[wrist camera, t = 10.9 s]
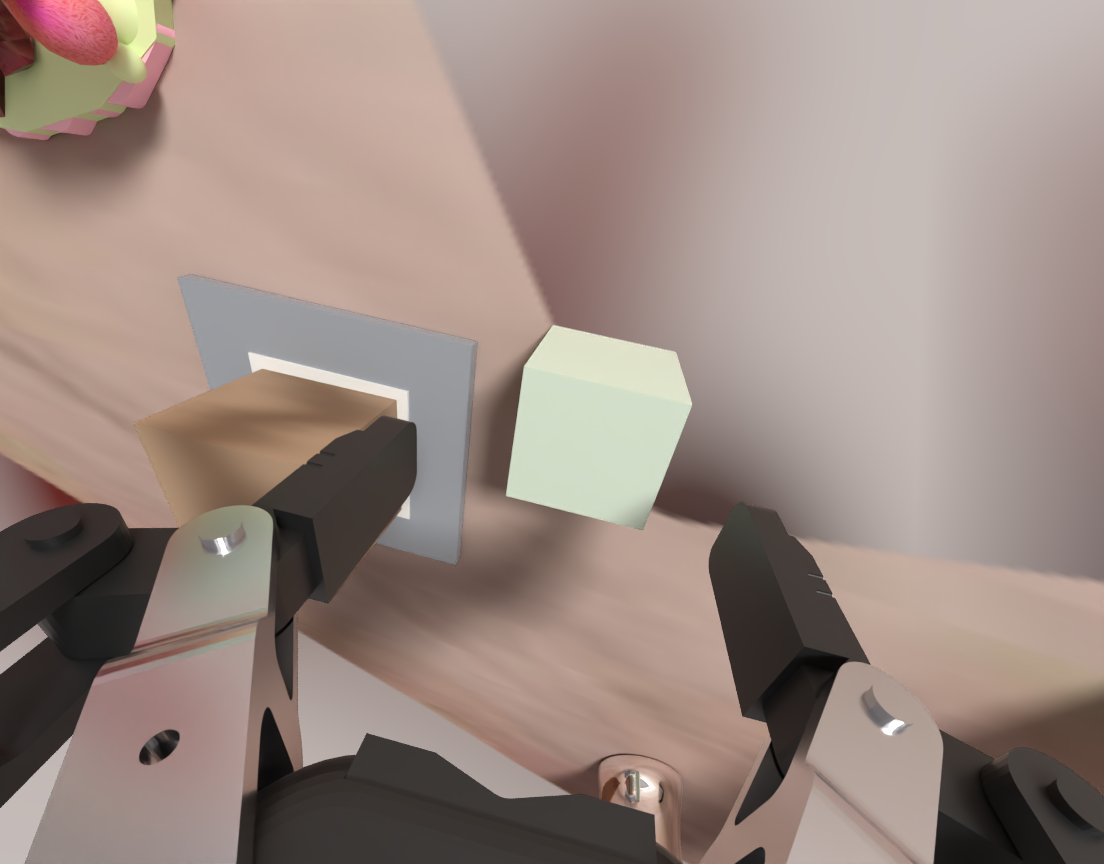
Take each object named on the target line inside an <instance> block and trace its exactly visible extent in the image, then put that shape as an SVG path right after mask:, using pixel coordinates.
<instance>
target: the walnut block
mask: <svg viewBox="0 0 1104 864" xmlns="http://www.w3.org/2000/svg"><path fill="white" fill-rule="evenodd" d="M384 415H385V416H389V417H393V418H397V400H394V399H390V398H386V397H382V396H377V395H373V394H369V393H365V392H360V391H356V390H352V389H347V388H343V387H339V386H335V385H330V384H326V383H322V382H317V381H313V380H309V379H305V378H300V377H296V376H292V375H287V374H283V373H279V372H275V371H270V370H266V369H260V370H258V371H255V372H253V373H251V374H248V375H246V376H244V377H241V378H239V379H237V380H234V381H232V382H229V383H227V384H225V385H222V386H220V387H218V388H215V389H213V390H211V391H208V392H206V393H204V394H201V395H199V396H196V397H194V398H192V399H189V400H187V401H185V402H182V403H180V404H178V405H175V406H173V407H170V408H168V409H166V410H163V411H161V412H159V413H156V414H154V415H152V416H149V417H147V418H144V419H142V420H140V421H137V422H135V423H133V425H134V427H135V429H136V432H137V434H138V436H139V438H140V441H141V443H142V445H143V447H144V450H145V452H146V454H147V456H148V459H149V461H150V463H151V466H152V468H153V470H154V472H155V475H156V477H157V479H158V481H159V484H160V486H161V488H162V491H163V493H164V495H165V497H166V500H167V502H168V504H169V506H170V509H171V511H172V513H173V516H174V518H175V520H176V522H177V525H178V527H179V528H180V527H181V526H182V525H184V524H185V523H186V522H188V521H190V520H191V519H193V518H195V517H197V516H199V515H201V514H203V513H206V512H209V511H211V510H215V509H218V508H223V507H227V506H236V505H247V506H251V505H253V504H254V503H255V502H256V501H258V500H259V499H260V498H261V497H263V496H264V495H265V494H266V493H268V492H269V491H270V490H271V489H273V488H274V487H275V486H276V485H278V484H279V483H280V482H281V481H283V480H284V479H285V478H286V477H288V476H289V475H290V474H292V473H293V472H294V471H295V470H297V469H298V468H299V467H300V466H302V465H303V464H305V465H306V463H307V461H308V460H309V459H310V458H312V457H313V456H314V455H315V454H317V453H318V454H319V453H320V450H322V449H323V448H324V447H325V446H327V445H328V444H329V443H330V442H332V441H333V440H334V439H336V438H338V437H340V436H343V435H345V434H348V433H350V432H352V431H355V430H361V431H364V430H365V429H366V428H368V427H369V426H370V425H371V424H372V423H373V422H375V421H376V420H377V419H378V418H379V417H381V416H384ZM401 510H402V508H401V507H400V509H399V510H398V511H397V513H396V514H395V515H394V517H393V518H392V519H391V521H390V522H389V523H388V525H387V526H386V527H385V529H384V530H383V531H382V533H381V534H380V535H379V537H378V538H377V539H376V541H375V542H374V543H373V545H372V546H371V547H370V549H369V550H368V551H367V553H368V552H369V551H370V550H371V548H372V547H373V546H374V544H375V543H376V542H377V541H378V539H379V538H380V537H381V535H382V534H383V533H384V532H385V530H386V529H387V528H388V526H389V525H390V524H391V523H392V521H393V520H394V519H395V517H396V516H397V515H398V514H399V512H400V511H401ZM367 553H366V554H365V555H364V557H365V556H366V555H367ZM364 557H363V558H362V559H361V561H362V560H363V559H364ZM361 561H360V562H361ZM360 562H359V563H358V565H359V564H360ZM358 565H357V566H358ZM357 566H356V567H355V569H356V568H357ZM355 569H354V570H355ZM354 570H353V571H354ZM353 571H352V573H353ZM352 573H351V574H352ZM351 574H350V575H351ZM350 575H349V577H350ZM349 577H348V578H349ZM348 578H347V579H348ZM347 579H346V580H347ZM345 582H346V581H345ZM345 582H344V583H345ZM344 583H343V584H344ZM342 586H343V585H342ZM342 586H341V587H342ZM341 587H340V588H341ZM338 591H339V590H338ZM338 591H337V592H338ZM335 595H336V594H335Z"/></svg>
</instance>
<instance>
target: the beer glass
mask: <svg viewBox="0 0 1104 864" xmlns="http://www.w3.org/2000/svg"><path fill="white" fill-rule="evenodd" d="M598 786H599V798H600V799H601V800H604V801H608V802H612V803H615V804H619V805H622V806H626V807H629V808H633V809H636V810H640V811H643V812H647V813H650V814H654V815H655V834H656V842H657V843H659V844H660V845H662V846H663V847H664V848H666V849H667V850H668V851H669V852H670V853H671V854H673V855H674V856H675V857H676V858H677V859H678V860H680V861H681V862H682V863H683V860H682V851H681V838H680V816H681V801H682V780H681V778H680V776H679V775H678V774H677V772H676V771H675V770H673V769H672V768H671V767H669V766H668V765H666V764H664V763H662V762H660V761H657V760H654V759H651V758H647V757H643V756H637V755H616V756H611V757H609V758H606V759H605V760H603V761H602V762H601V763H600V764H599V767H598Z"/></svg>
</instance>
